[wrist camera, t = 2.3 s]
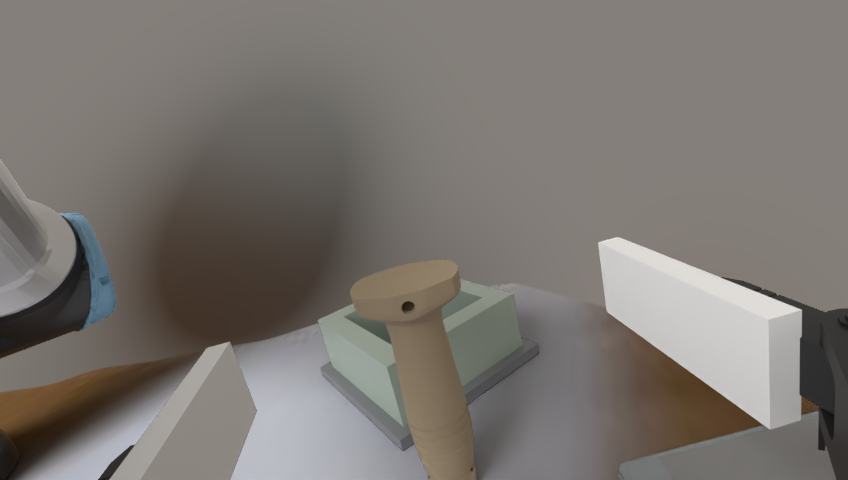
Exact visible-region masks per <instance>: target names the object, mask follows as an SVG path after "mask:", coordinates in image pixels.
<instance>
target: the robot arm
mask: <svg viewBox="0 0 848 480" xmlns="http://www.w3.org/2000/svg"><path fill="white" fill-rule="evenodd" d="M598 246H599V253H600V262H601V269H602V276H603V286H604V294H605V302H606V310H607V312H608V313H609V314H611V315H612V316H614V317H615V318H616V319H618V320H619V321H620V322H622V323H623V324H625V325H626V326H627V327H629V328H630V329H632V330H633V331H634V332H636V333H637V334H638V335H640V336H641V337H643V338H644V339H645V340H647V341H648V342H650V343H651V344H652V345H654V346H655V347H656V348H658V349H659V350H661V351H662V352H663V353H665V354H666V355H667V356H669V357H670V358H672V359H673V360H674V361H676V362H677V363H679V364H680V365H681V366H683V367H684V368H685V369H687V370H688V371H690V372H691V373H692V374H694V375H695V376H697V377H698V378H699V379H701V380H702V381H703V382H705V383H706V384H708V385H709V386H710V387H712V388H713V389H715V390H716V391H717V392H719V393H720V394H721V395H723V396H724V397H726V398H727V399H728V400H730V401H731V402H733V403H734V404H735V405H737V406H738V407H739V408H741V409H742V410H744V411H745V412H746V413H748V414H749V415H751V416H752V417H753V418H755V419H756V420H757V421H759V422H760V423H762V424H763V425H764V426H766V427H767V428H769V429H770V430H771V429H774V428H777V427H780V426H784V425H787V424H790V423H793V422H796V421H799V420H801V396H802V397H804V398H806V399H807V400H809V401H811V402H812V403H814V404H816V405H817V406H819V424H818V450H822V451H825V447H827V451H828V454H829V457H830V460H831V464H832V467H833V470H834V474H835V477H836V480H848V309H836V310H832V311H828V312H823V311H820V310H818V309H815V308H813V307H810V306H807V305H804V304H802V303H799V302H797V301H794V300H791V299H789V298H786V297H784V296H781V295H778V296H777V295H776V293H773V292H771V291H768V290H762V289H761V288H760V287H757V286H755V285H752V284H750V283H747V282H744V281H740V280H734V279H729V278H724V277H721V278H720V277H718V276H715V275H713V274H710V273H707V272H705V271H702V270H700V269H697V268H695V267H692V266H690V265H687V264H685V263H682V262H680V261H677V260H675V259H672V258H670V257H667V256H665V255H662V254H660V253H657V252H655V251H652V250H650V249H647V248H645V247H642V246H639V245H637V244H634V243H632V242H630V241H627V240H624V239H622V238H619V237H617V238H613V239H609V240H605V241H601V242H598ZM115 307H116V294H115V289H114V286H113V282H112V279H111V278H110V276H109V271H108V266H107V263H106V260H105V257H104V254H103V252H102V250H101V247H100V244H99V242H98V240H97V237H96V235H95V233H94V231H93V229H92V227H91V225H90V223H89V222H88V220H87V219H86V218H85V217H84V216H83V215H81V214H79V213H68V214H66V213H59V214H58V213H57V212H56V211H54V210H53V209H51V208H49V207H47V206H45V205H43V204H41V203H38V202H35V201H32V200H28V199H27V198H26V196H25V195H24V193H23V192H22V190H21V189H20V187H19V186H18V184H17V183H16V181H15V180H14V178H13V177H12V176H11V174H10V172H9V171H8V169H7V168H6V166H5V165H4V163H3V162H2V160H1V159H0V359H1V358H3V357H6V356H8V355H11V354H14V353H16V352H19V351H22V350H25V349H27V348H30V347H33V346H35V345H38V344H41V343H43V342H46V341H49V340H51V339H54V338H57V337H59V336H62V335H65V334H67V333H70V332H73V331H80V330H83V329H84V328H87V327H88V326H89V325H90V324H93V323H95V322H97V321H100V320H102V319H105V318H107V317H108V316H110V315H111V314H112V313H113V312H114V310H115ZM256 412H257V409H256V407H255V404H254V402H253V399H252V397H251V394H250V391H249V389H248V386H247V384H246V381H245V379H244V376H243V374H242V371H241V369H240V366H239V363H238V361H237V358H236V356H235V353H234V351H233V348H232V346H231V343H230V342H227V343H223V344H219V345H216V346H212V347H208V348H206V350H205V351H204V352H203V354H202V355H201V356H200V358H199V359H198V361H197V362H196V363H195V365H194V366H193V367H192V369H191V370H190V371H189V373H188V374H187V375H186V377H185V378H184V379H183V381H182V382H181V384H180V385H179V386H178V388H177V389H176V390H175V392H174V393H173V394H172V396H171V397H170V398H169V400H168V401H167V402H166V404H165V405H164V406H163V408H162V409H161V411H160V412H159V413H158V415H157V416H156V417H155V419H154V420H153V421H152V423H151V424H150V425H149V427H148V428H147V429H146V431H145V432H144V434H143V435H142V436H141V438H140V439H139V440H138V442H137V443H136V444H135V445H132V446H130V447H129V448H128V449H126V450H125V451H124V452H123V453H122V454H121V455H119V456H118V457H117V458H116V459H115V460H114V461H113V462H111V464H110V465H109V466H108V467H107V469H106V470H105V471H104V473H103V474H102V475H101V477H100V478H99V479H98V480H230V479H231V476H232V474H233V471H234V469H235V466H236V464H237V461H238V458H239V456H240V453H241V451H242V448H243V445H244V443H245V440H246V438H247V435H248V433H249V430H250V427H251V425H252V422H253V420H254V417H255V415H256ZM18 459H19V451H18V450H17V448H16V446H15V445H14V443H13V441H12V440H11V438H10V437H9V435H8V434H7V433H6V432H4V431H3V430H1V429H0V480H5V479H6V477H7V476H8V475H9V474H10V473H11V471H12V470H13V469H14V467H15V466H16V464H17V462H18Z"/></svg>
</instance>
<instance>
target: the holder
mask: <svg viewBox="0 0 848 480" xmlns="http://www.w3.org/2000/svg"><path fill="white" fill-rule="evenodd" d="M460 281H461V289H460V292H459V293H458V294H457V296H456V297H455V298H454V299H453V300H451V301H450V302H449V303H447V304H446V305H445V306H444V307H442V309H441V310H442V317H443V323H444V327H445V330H446V334H447V337H448V341H449V344H450V348H451V351H452V355H453V358H454V362H455V365H456V368H457V371H458V374H459V378H460V381H461V384H462V387H463V391H464V394H465V397H466V402H467V404H469V403H470V402H472V401H473V400H474V399H476V398H477V397H479V396H480V395H481V394H483V393H484V392H485V391H487V390H488V389H490V388H491V387H492V386H494V385H495V384H496V383H498V382H499V381H501V380H502V379H503V378H505V377H506V376H508V375H509V374H510V373H512V372H513V371H514V370H516V369H517V368H519V367H520V366H521V365H523V364H524V363H525V362H527V361H528V360H530V359H531V358H532V357H534V356H535V355H537V354H538V353H539V350H538V344H537V343H534V342H532V341H529V340H526V339H524V338H521V335H520V329H519V324H518V318H517V312H516V307H515V301H514V295H513V293H510V292H506V291H502V290H499V289H495V288H491V287H487V286H484V285H480V284H476V283H473V282H469V281H465V280H462V279H460ZM318 323H319V326H320V329H321V333H322V336H323V339H324V342H325V345H326V348H327V351H328V354H329V357H330V361H331V362H330V363H328V364H326V365H324V366H322V367H321V368H320V369H321V372H322V375H323V376H324V377H325V378H326V379H327V380H328V381H329V382H330V383H331V384H332V385H333V386H334V387H335V388H336V389H337V390H338V391H340V392H341V393H342V394H343V395H344V396H345V397H346V398H347V399H348V400H349V401H350V402H351V403H352V404H353V405H354V406H356V407H357V408H358V409H359V410H360V411H361V412H362V413H363V414H364V415H365V416H366V417H367V418H368V419H369V420H370V421H372V422H373V423H374V424H375V425H376V426H377V427H378V428H379V429H380V430H381V431H382V432H383V433H384V434H385V435H386V436H387V437H389V438H390V439H391V440H392V441H393V442H394V443H395V444H396V445H397V446H398V447H399V448H400V449H401V450H402V451H404V450H405V449H407V448H408V447H409V446H411V445H412V444H414V441H413V438H412V435H411V432H410V428H409V424H408V420H407V417H406V412H405V406H404V401H403V396H402V391H401V386H400V381H399V376H398V371H397V366H396V362H395V357H394V352H393V348H392V343H391V339H390V335H389V332H388V330H387V327H386V324H385V323H383V322H380V321H374V320H369V319H365V318H362V317H360V316H359V315H358V314H357V313H356V310H355V308H354V305H353V304H351V305H349V306H347V307H345V308H342V309H340V310H338V311H336V312H334V313H332V314H330V315H328V316H325V317H323V318H321V319H319V320H318Z"/></svg>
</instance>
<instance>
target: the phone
mask: <svg viewBox="0 0 848 480" xmlns="http://www.w3.org/2000/svg"><path fill="white" fill-rule="evenodd" d="M818 424H819V411H815V412H811V413H808V414H804V415H801V420H799V421H796V422H793V423H790V424H787V425H784V426H780V427H777V428H774V429H771V430H770V429H769V428H767V427H766V426H764V425H762V426H758V427H755V428H751V429H747V430H743V431H739V432H736V433H732V434H728V435H724V436H721V437H717V438H713V439H709V440H705V441H702V442H698V443H694V444H690V445H686V446H683V447H679V448H675V449H671V450H668V451H664V452H660V453H656V454H652V455H649V456H645V457H641V458H637V459H633V460H630V461H626V462H623V463H622V464H621V465H620V467H619V470H618V475H619V480H836V477H835V474H834V470H833V467H832V464H831V460H830V457H829V454H828V451H827V447H825V451H822V450H818Z"/></svg>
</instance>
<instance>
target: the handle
mask: <svg viewBox="0 0 848 480" xmlns="http://www.w3.org/2000/svg"><path fill="white" fill-rule="evenodd" d="M460 289H461V281H460V276H459V271H458V267H457V265H456V263H454V262H453V261H451V260H447V259H442V260H428V261H420V262H414V263H409V264H405V265H401V266H397V267H393V268H389V269H386V270H383V271H380V272H377V273H375V274H372V275H370V276H367V277H364V278H362V279H360V280H359V281H357V282H356V283H355V284H354V285H353V286H352V288H351V290H350V295H351V298H352V302H353V305H354V308H355V310H356V313H357V314H358V315H359V316H360V317H362V318H365V319H369V320H374V321H380V322H383V323H385V324H386V327H387V330H388V332H389V335H390V339H391V343H392V348H393V352H394V357H395V362H396V366H397V371H398V376H399V381H400V386H401V391H402V396H403V401H404V406H405V412H406V417H407V420H408V424H409V428H410V432H411V435H412V438H413V441H414V443H415V446H416V449H417V451H418V454H419V456H420V459H421V461H422V463H423V465H424V467H425V469H426V470H427V472H428V473H429V476H428V479H429V480H476V479H477V472H476V466H475V465H474V439H473V431H472V424H471V419H470V413H469V410H468V405H467V402H466V397H465V394H464V391H463V387H462V384H461V381H460V378H459V374H458V371H457V368H456V365H455V362H454V358H453V355H452V351H451V348H450V344H449V341H448V337H447V334H446V330H445V327H444V323H443V317H442V310H441V309H442V307H444V306H445V305H446V304H447V303H449V302H450V301H451V300H453V299H454V298H455V297H456V296H457V294H458V293H459V292H460Z"/></svg>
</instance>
